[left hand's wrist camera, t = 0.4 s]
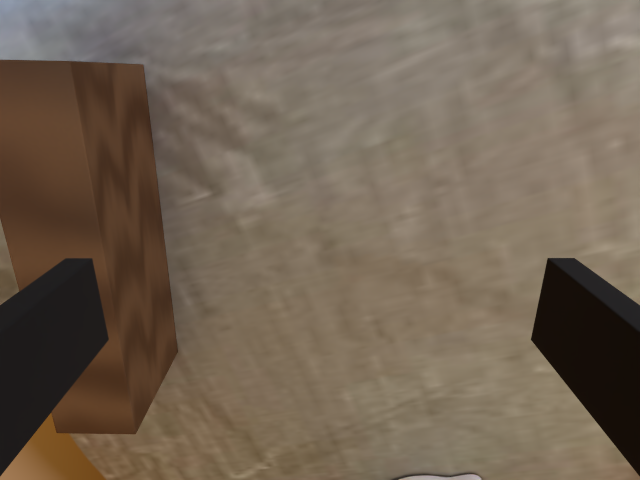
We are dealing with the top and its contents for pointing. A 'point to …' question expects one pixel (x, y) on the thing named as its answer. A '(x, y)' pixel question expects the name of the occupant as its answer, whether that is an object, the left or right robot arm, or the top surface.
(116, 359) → the box
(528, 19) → the top surface
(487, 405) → the top surface
